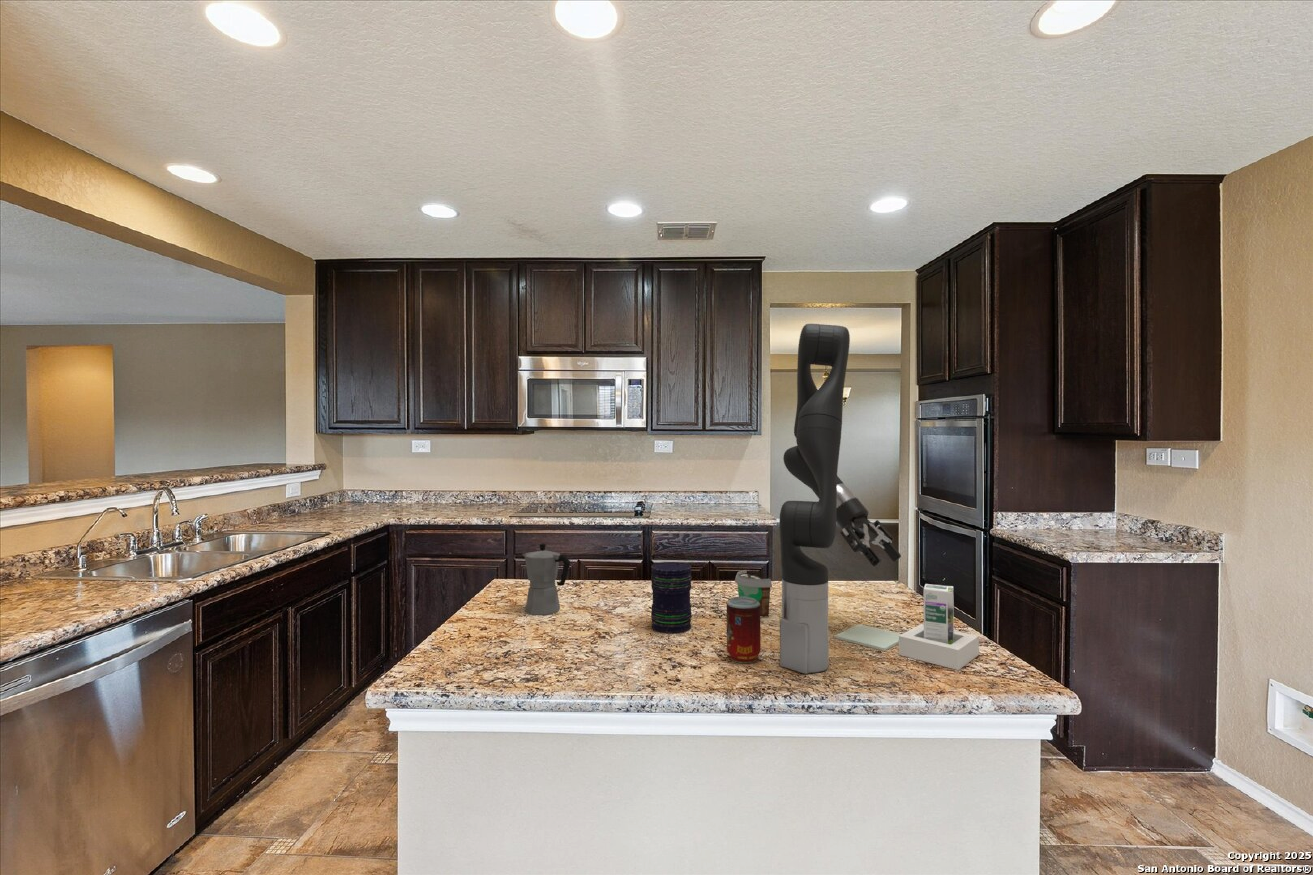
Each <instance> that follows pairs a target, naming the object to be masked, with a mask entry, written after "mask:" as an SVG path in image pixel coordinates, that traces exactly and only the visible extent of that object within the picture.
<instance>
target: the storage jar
mask: <svg viewBox="0 0 1313 875" xmlns="http://www.w3.org/2000/svg"><path fill="white" fill-rule="evenodd" d="M650 582H651V584H650V587H651V590H652V604H651V608H650V609H651V614H650V615H651V616H650V618H651V622H652V624H651V629H652V630H653V631H654V632H656V633H660V634H667V635H671V634H672V635H676V634H683V633H687V632H689V631H691V629H692V624H691V622H692V604H691V590H692V566H691V564H689V563H686V562H685V563H684V562H680V561H679V562H675V561H666V562H665V561H664V562H657V563H654V564H651V577H650Z"/></svg>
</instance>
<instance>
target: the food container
mask: <svg viewBox="0 0 1313 875" xmlns="http://www.w3.org/2000/svg"><path fill="white" fill-rule="evenodd" d="M734 582H735V583H736V585H737V593H738V596H737V597H750V598H754V599H755V600H757V601H758V602H759V603H760V606H761V608H760V610H761V614H760V616H768V617H769V614H770V600H771V599H770V598H771V588H772V587H773V586H772V584H773V583H772V579H771V578H762V577H760V576H758V575H752V574H749V573H747V569H744V570H740V571H739V570H738V572H737V573H736V575H735V579H734Z"/></svg>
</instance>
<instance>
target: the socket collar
mask: <svg viewBox="0 0 1313 875" xmlns="http://www.w3.org/2000/svg"><path fill="white" fill-rule="evenodd" d="M900 634H901V635H900V636H899V644H898V656H903V657H906V658H909V659H913V660H914V659H915V660H918V661H921V662H926V663H929V664H933V665H937V666H940V667H943V668H949V669H953V670H956V671H959V670H961V669H962V668H963V667H965V666H966V665H967V664H969V663H970V662H971V661H972V660H974V659H976V657H978V656H979V655H980V637H979V635H975V634H971V633H968V632H967V633H966V632H963V631H958V630H954V643H953V644H951V645H950V644H946V643H941V642H937V641H933V640H929V639H924V623H920V624H918V625H916V626H915V627H913V628H911V629H909V630H906V631H905V632H903V633H900Z"/></svg>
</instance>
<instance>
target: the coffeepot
mask: <svg viewBox="0 0 1313 875" xmlns="http://www.w3.org/2000/svg"><path fill="white" fill-rule="evenodd" d="M546 545H547V544H545V543H539V549H540V550H536V551H531V552H526V553H522V556H523V557H524V560H525V561H524V562H525V568H526V575H527V580H528V581H529V587H528V591H527V598H526V604H525V611H524V612H525V613H526V612H527V613H526V614H528V613H529V614H528V615H530V614H532V615H531V616H536V615H543V616H549V615H550V614H551V615H554V614H557V613H558V612H559V611H560V609H561V604H560V598H559V592H558V587H557V586H560V587H562V586H564V585H565V583H566V580H567V576H568V574H569V569H570V566H571V561H570V559H569V558H568V556H567V555H565V554H561V553H559V552H555V551H550V550H545V549H546ZM560 562H562V563H563V566H562V572H561V575H560V581H556V580H557V577H558V572H559V565H560ZM556 612H557V613H556ZM553 613H554V614H553ZM551 615H550V616H551Z"/></svg>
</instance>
